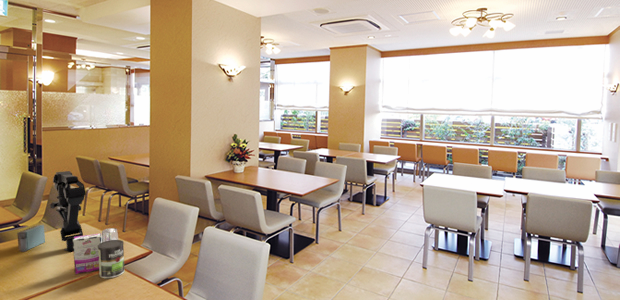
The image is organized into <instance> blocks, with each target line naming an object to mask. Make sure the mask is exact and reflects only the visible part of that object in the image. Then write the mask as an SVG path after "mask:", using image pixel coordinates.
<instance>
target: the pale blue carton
mask: <svg viewBox="0 0 620 300" xmlns="http://www.w3.org/2000/svg"><path fill="white" fill-rule="evenodd" d="M39 225H40V224H37V225H34V226H32V227H29V228H27V229H24V230H20V231H18V232H17V233H16V235H17V246H18V251H19V252H21V243H20V239H24V238H26V236H25V232H24V231H27V230H29V229H32V228H34V227H37V226H39Z"/></svg>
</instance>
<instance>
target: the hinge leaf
mask: <svg viewBox="0 0 620 300" xmlns="http://www.w3.org/2000/svg"><path fill="white" fill-rule="evenodd" d="M38 225H39V226H37V227H34V226H33V227H34V228H32V229H29V230H27V231H24V232H25V236H26V238H24V239H20V243H21V251H20V252H21V253H23V252H24V253H25V252H27V251H29V250H31V249H33V248H35V247H37V246H40V245H42V244H44V243H46V239H45V238H46V235H45V233H46V232H45V225H43V224H38Z"/></svg>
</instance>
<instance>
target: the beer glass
mask: <svg viewBox="0 0 620 300" xmlns="http://www.w3.org/2000/svg"><path fill="white" fill-rule="evenodd" d="M101 236H102V242H105V241H110V240H119V234H118V228H113V227H112V228H111V227H110V228H109V227H108V228H105V229H103V230H101Z"/></svg>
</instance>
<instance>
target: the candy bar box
mask: <svg viewBox="0 0 620 300" xmlns="http://www.w3.org/2000/svg"><path fill="white" fill-rule="evenodd" d="M100 243H102V232H101V233H93V234H88V235H87V234H85V235H83V236H78V237H74V239H73V252H72V253H73V263H74V274H75V275H78V274H79V275H80V274H84V273H85V274H86V273H91V272H96V271H99V255H98V245H99V244H100Z"/></svg>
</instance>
